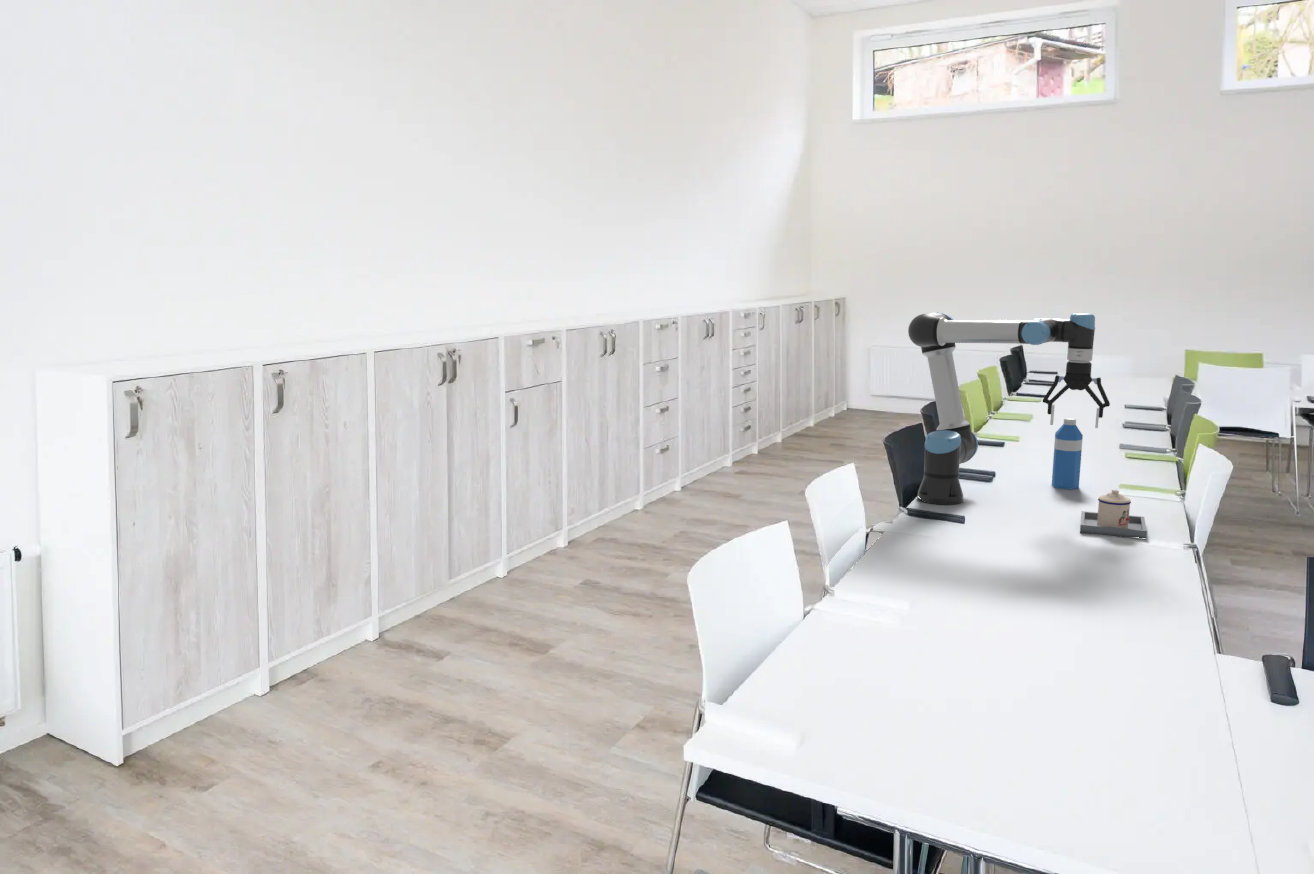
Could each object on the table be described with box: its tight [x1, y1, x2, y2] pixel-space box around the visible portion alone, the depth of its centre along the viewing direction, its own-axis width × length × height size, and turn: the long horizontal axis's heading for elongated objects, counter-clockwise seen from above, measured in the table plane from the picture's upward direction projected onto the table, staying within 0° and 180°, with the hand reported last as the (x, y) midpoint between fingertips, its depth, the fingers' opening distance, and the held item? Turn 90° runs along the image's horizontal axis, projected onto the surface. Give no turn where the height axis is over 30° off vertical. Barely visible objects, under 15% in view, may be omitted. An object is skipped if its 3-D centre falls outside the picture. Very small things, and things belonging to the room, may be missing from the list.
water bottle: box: [1051, 417, 1084, 490], centre depth 356 cm, size 9×9×25 cm
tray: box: [1079, 510, 1148, 539], centre depth 301 cm, size 18×18×3 cm
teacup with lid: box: [1097, 489, 1132, 528], centre depth 300 cm, size 12×9×12 cm
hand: (1073, 426), depth 321 cm, fingers open, 13 cm apart
